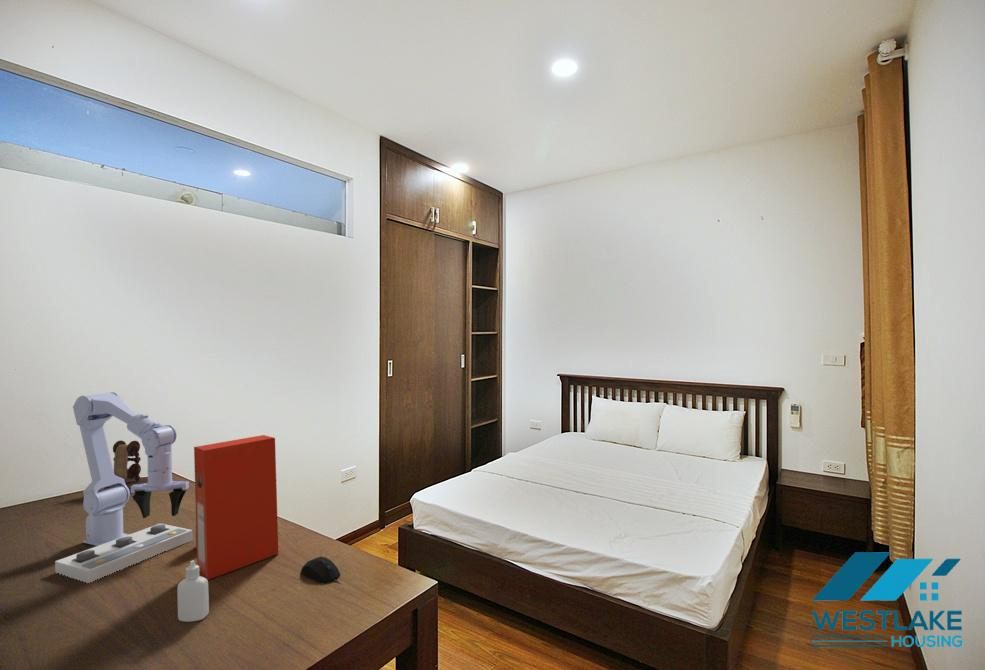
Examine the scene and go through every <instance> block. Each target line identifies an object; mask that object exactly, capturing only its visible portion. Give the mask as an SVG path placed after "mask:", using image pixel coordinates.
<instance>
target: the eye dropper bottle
mask: <svg viewBox="0 0 985 670" xmlns="http://www.w3.org/2000/svg"><path fill="white" fill-rule="evenodd" d="M176 589H177V591H176V592H177V619H178V621H180V622H183V623H184V622H186V623H190V622H198V621H201V620H202V621H203V620H204V619H205V618H206V617H207V616H208V615H209V613H210V603H209V602H210V599H209V596H210V595H209V581H208V580H207V579H206V578H205V577H204V576H202V575H200V573H199V565H197V564H196V561H195V560H191V561H190V562H189V566H187V567H186V568H185V578H184V579H182V580H181V581H180V582H179V583H178V585H177V588H176Z"/></svg>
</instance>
